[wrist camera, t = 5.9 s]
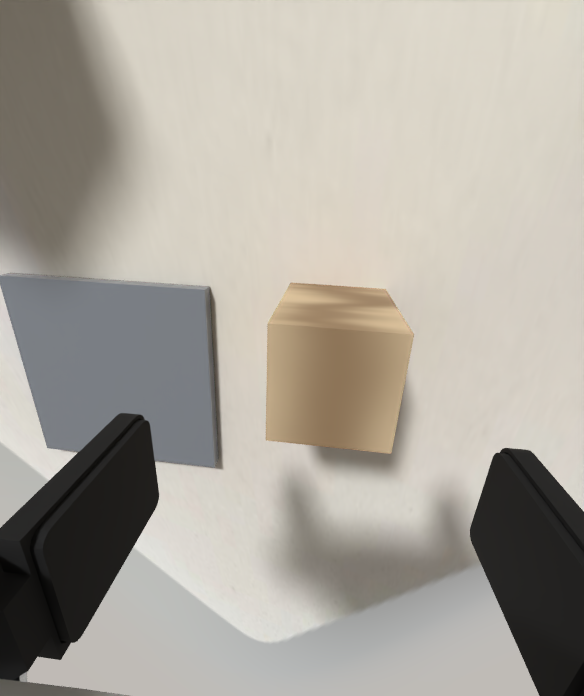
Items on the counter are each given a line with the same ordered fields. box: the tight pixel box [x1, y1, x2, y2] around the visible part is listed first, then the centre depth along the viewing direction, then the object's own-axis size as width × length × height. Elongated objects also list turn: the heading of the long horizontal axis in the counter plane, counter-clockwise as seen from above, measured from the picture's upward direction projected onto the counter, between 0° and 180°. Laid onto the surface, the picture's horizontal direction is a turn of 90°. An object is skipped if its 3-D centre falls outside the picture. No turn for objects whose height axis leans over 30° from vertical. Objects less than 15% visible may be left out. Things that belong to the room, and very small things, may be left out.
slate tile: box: [0, 273, 218, 468], centre depth 21 cm, size 12×12×1 cm
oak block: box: [266, 283, 414, 454], centre depth 16 cm, size 5×5×7 cm
